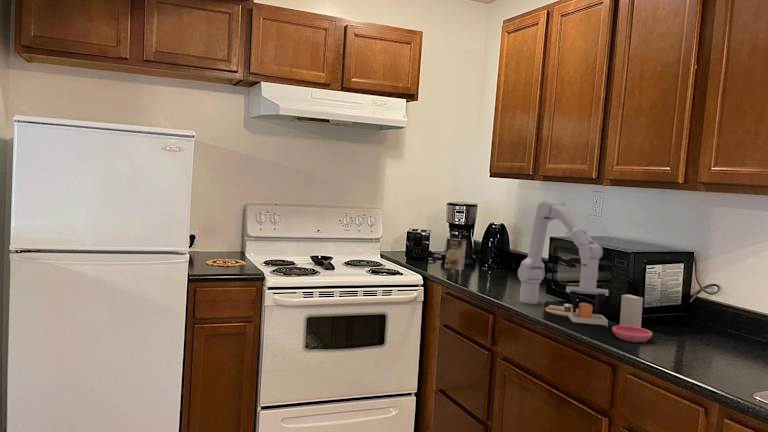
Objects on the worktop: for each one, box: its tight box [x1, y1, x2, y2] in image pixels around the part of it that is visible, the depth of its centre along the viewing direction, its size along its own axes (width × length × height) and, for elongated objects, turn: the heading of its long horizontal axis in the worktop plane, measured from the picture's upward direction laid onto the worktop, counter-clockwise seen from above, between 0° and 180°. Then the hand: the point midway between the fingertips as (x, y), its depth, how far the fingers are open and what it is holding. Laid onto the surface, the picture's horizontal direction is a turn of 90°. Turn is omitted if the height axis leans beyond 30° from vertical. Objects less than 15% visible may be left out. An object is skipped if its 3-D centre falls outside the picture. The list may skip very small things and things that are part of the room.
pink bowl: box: [611, 324, 653, 343], centre depth 197 cm, size 12×12×3 cm
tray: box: [567, 312, 609, 328], centre depth 215 cm, size 8×12×2 cm, turn 84°
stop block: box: [577, 302, 594, 319], centre depth 215 cm, size 4×4×6 cm
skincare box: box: [619, 294, 644, 328], centre depth 209 cm, size 6×4×12 cm
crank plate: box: [544, 305, 578, 317], centre depth 228 cm, size 17×17×2 cm
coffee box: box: [444, 237, 467, 271], centre depth 318 cm, size 9×6×16 cm
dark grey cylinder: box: [548, 302, 589, 313], centre depth 228 cm, size 14×3×4 cm, turn 62°
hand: (585, 313), depth 215 cm, fingers open, 7 cm apart
